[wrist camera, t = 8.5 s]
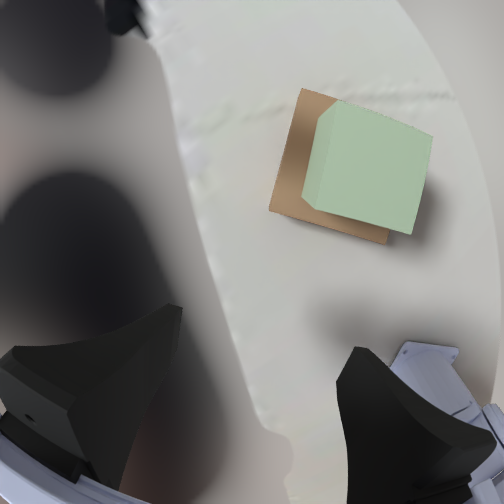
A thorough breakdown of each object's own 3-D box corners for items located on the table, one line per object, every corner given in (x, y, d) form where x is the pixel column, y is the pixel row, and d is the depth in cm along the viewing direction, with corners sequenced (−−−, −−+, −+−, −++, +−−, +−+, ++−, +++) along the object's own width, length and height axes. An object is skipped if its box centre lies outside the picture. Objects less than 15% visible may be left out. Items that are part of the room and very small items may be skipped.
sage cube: (375, 216, 17) (410, 235, 12) (301, 196, 17) (314, 209, 12) (392, 141, 15) (432, 136, 10) (318, 117, 15) (338, 99, 10)
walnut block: (370, 234, 20) (384, 245, 17) (269, 204, 20) (268, 210, 17) (398, 135, 18) (416, 131, 15) (297, 99, 17) (301, 88, 15)
